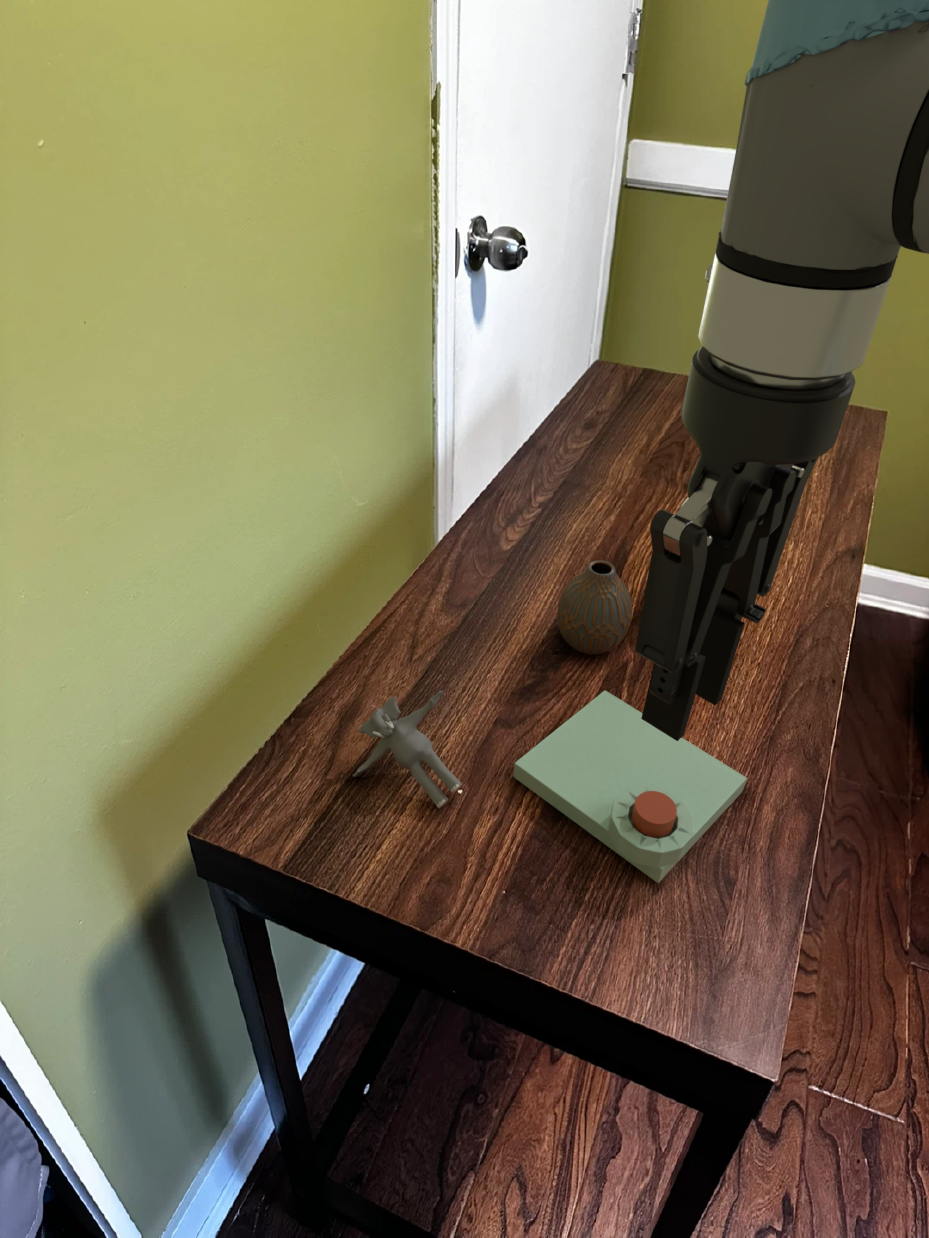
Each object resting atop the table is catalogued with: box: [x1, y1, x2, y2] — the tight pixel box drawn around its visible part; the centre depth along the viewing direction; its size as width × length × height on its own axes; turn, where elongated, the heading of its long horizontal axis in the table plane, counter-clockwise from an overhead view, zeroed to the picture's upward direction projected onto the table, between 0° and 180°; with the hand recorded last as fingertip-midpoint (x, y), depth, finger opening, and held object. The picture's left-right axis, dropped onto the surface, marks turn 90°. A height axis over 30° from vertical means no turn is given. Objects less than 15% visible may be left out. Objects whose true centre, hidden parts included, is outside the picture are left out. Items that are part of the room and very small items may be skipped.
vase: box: [556, 559, 633, 656], centre depth 80 cm, size 7×7×9 cm
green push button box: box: [512, 690, 748, 884], centre depth 67 cm, size 14×13×4 cm
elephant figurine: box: [352, 689, 463, 809], centre depth 67 cm, size 10×6×9 cm
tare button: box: [632, 791, 677, 837], centre depth 62 cm, size 3×3×2 cm
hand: (681, 708), depth 55 cm, fingers open, 4 cm apart
